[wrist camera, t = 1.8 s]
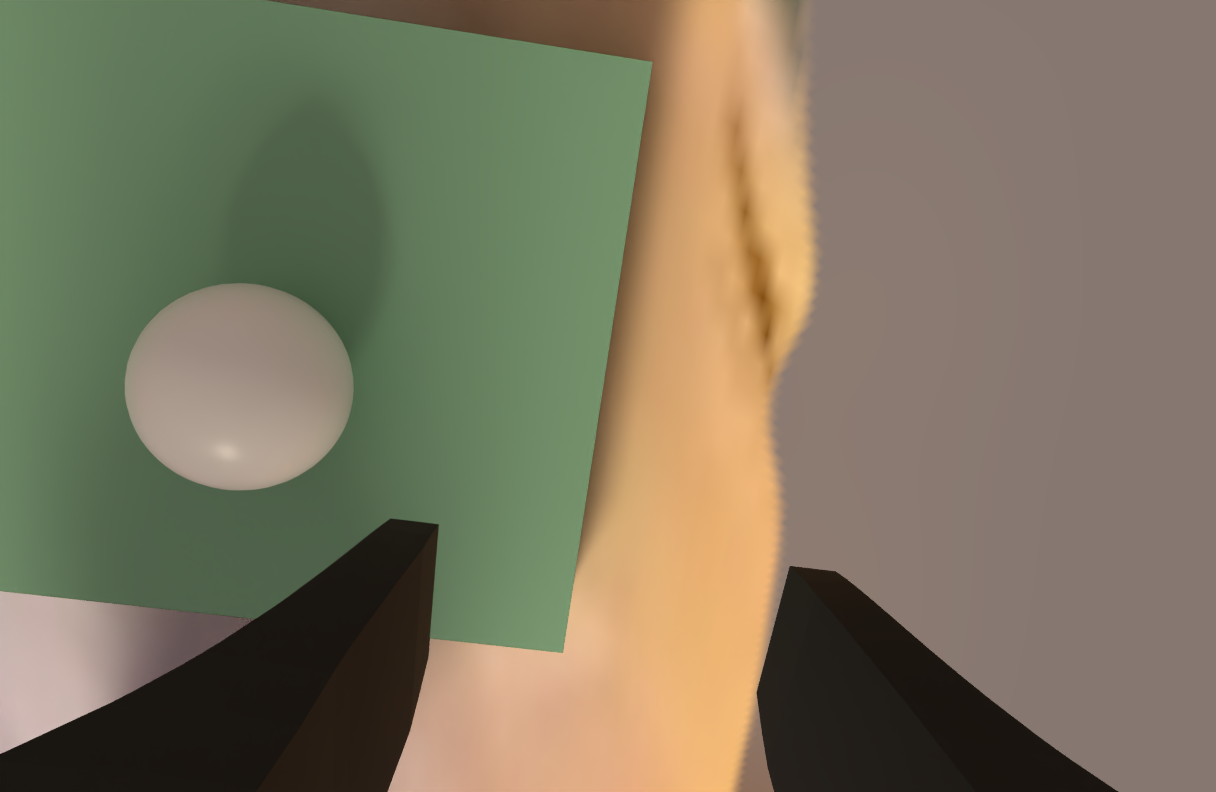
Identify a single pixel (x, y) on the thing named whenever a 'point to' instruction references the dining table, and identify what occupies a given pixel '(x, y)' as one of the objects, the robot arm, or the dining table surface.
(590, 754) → the dining table surface
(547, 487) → the green mini golf board
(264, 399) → the ball
